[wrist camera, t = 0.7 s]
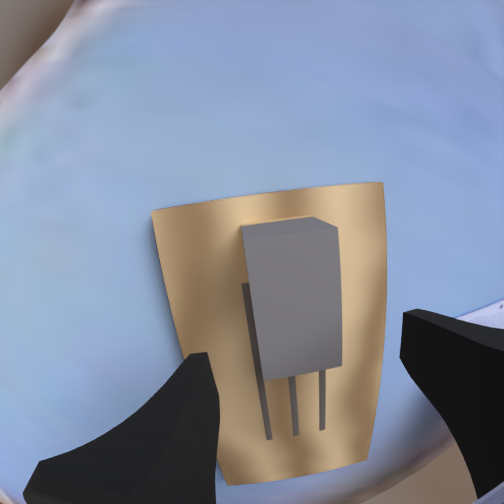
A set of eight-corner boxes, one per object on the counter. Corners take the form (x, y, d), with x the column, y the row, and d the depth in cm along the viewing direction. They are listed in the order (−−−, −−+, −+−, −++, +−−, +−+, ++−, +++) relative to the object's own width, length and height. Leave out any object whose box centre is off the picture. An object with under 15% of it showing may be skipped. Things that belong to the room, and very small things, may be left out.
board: (372, 181, 19) (383, 182, 17) (362, 450, 25) (366, 460, 23) (157, 209, 18) (150, 211, 17) (227, 474, 24) (227, 485, 23)
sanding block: (309, 215, 17) (337, 227, 12) (317, 323, 19) (342, 366, 14) (240, 224, 17) (243, 240, 12) (256, 334, 19) (263, 380, 14)
